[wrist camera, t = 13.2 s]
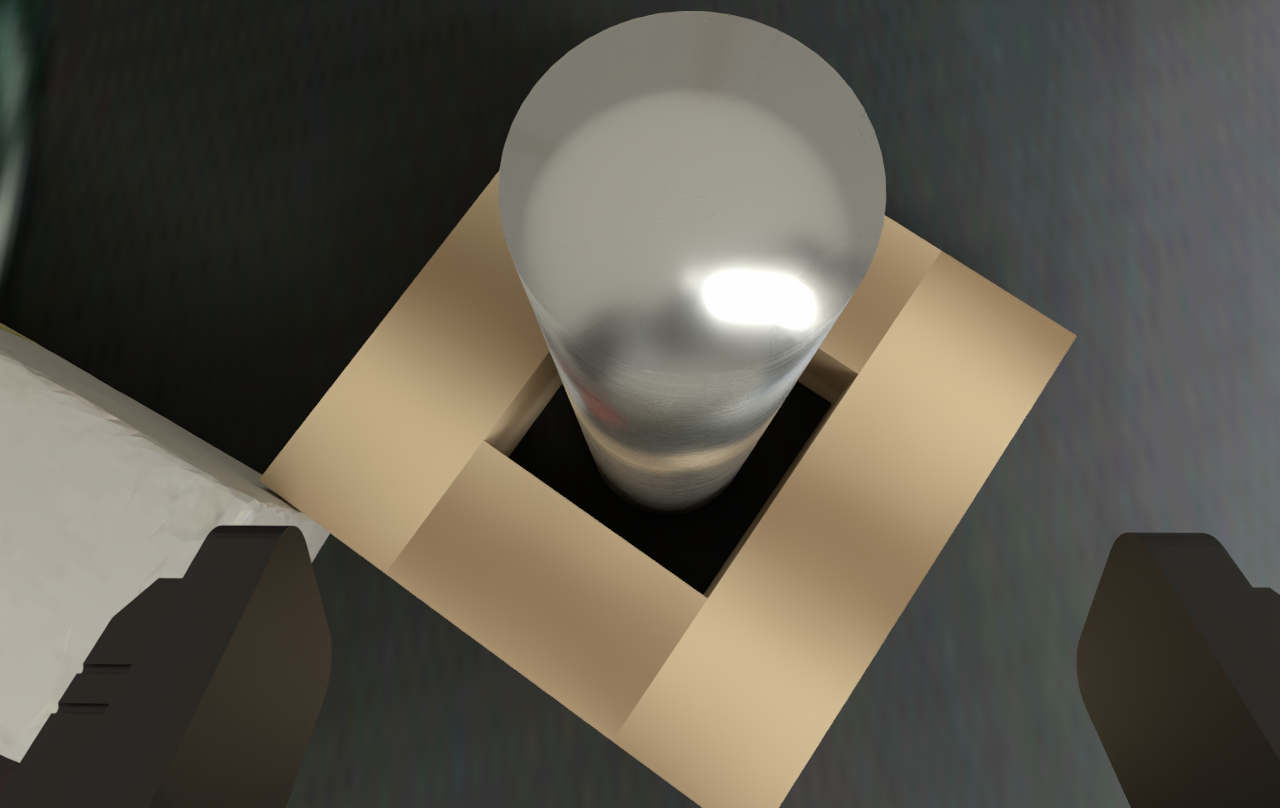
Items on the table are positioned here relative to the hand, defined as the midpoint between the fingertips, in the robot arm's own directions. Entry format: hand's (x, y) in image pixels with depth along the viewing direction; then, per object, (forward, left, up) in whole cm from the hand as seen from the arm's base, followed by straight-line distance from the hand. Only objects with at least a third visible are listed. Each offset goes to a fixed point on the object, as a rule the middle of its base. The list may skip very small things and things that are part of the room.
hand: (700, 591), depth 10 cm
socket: (-3, -2, -12) cm, 13 cm away
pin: (-3, -2, -12) cm, 13 cm away
